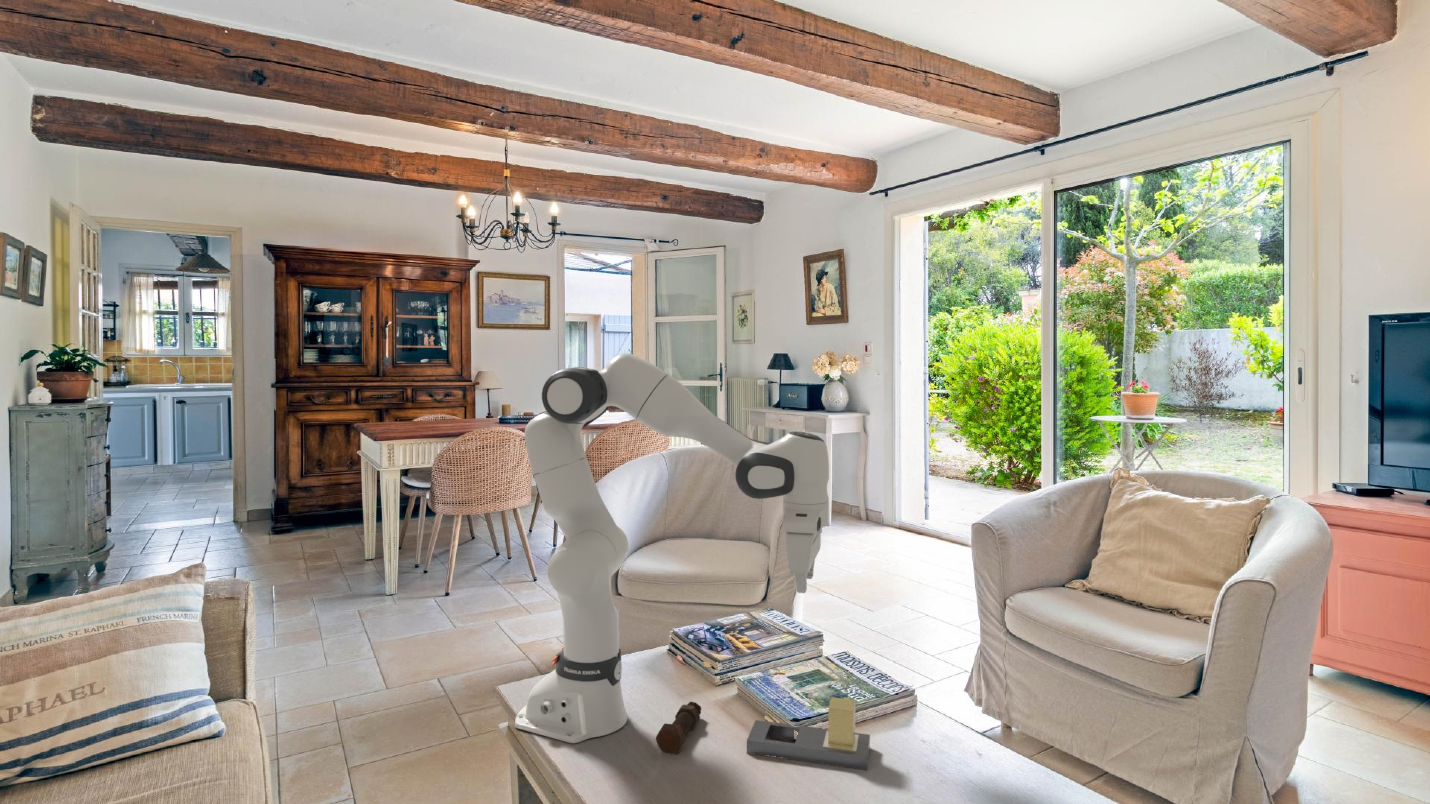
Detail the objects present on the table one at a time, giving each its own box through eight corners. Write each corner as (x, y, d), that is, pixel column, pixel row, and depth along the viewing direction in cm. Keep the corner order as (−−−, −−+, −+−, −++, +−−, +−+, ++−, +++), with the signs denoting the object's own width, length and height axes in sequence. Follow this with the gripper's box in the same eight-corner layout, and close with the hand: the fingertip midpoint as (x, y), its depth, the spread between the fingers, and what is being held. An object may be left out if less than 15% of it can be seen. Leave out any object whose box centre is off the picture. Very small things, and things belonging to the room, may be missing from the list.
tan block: (828, 745, 136) (828, 708, 135) (831, 733, 140) (831, 697, 140) (853, 748, 134) (853, 711, 134) (855, 736, 139) (855, 700, 138)
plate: (746, 753, 138) (746, 739, 138) (755, 732, 146) (755, 719, 146) (867, 770, 132) (867, 755, 132) (869, 747, 140) (869, 733, 140)
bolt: (697, 726, 152) (672, 762, 138) (678, 711, 153) (650, 745, 139) (711, 704, 151) (687, 737, 137) (691, 689, 152) (665, 720, 138)
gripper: (797, 504, 156) (797, 569, 156) (780, 525, 136) (780, 599, 137) (827, 505, 154) (827, 571, 155) (815, 527, 134) (814, 602, 135)
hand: (805, 584), depth 146 cm, fingers open, 8 cm apart
